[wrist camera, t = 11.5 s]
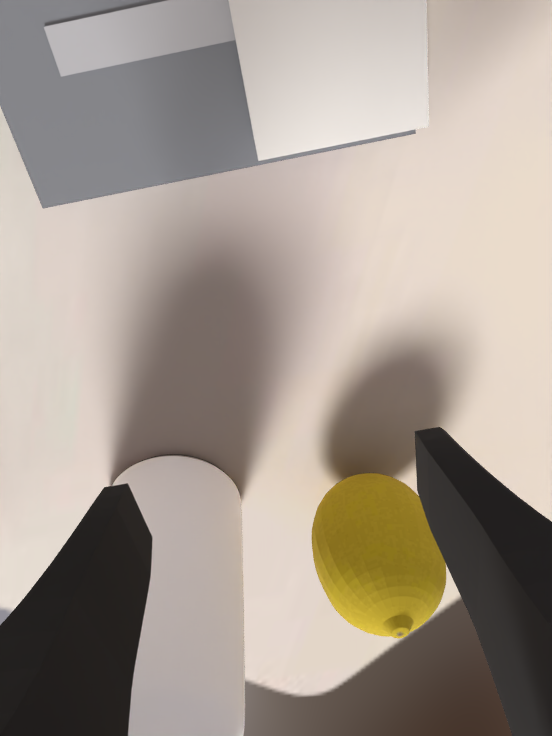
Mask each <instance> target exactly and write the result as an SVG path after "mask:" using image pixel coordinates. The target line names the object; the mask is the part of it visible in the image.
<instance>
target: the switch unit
mask: <svg viewBox="0 0 552 736" xmlns="http://www.w3.org/2000/svg"><path fill="white" fill-rule="evenodd" d="M0 106H1V109H2V111H3V113H4V116H5V118H6V121H7V123H8V125H9V128H10V130H11V133H12V135H13V138H14V140H15V142H16V145H17V147H18V150H19V152H20V154H21V157H22V159H23V162H24V164H25V167H26V169H27V171H28V174H29V176H30V179H31V181H32V183H33V186H34V188H35V191H36V193H37V195H38V198H39V200H40V203H41V205H42V208H48V207H53V206H58V205H63V204H68V203H73V202H78V201H83V200H88V199H93V198H97V197H102V196H107V195H112V194H117V193H122V192H127V191H132V190H137V189H142V188H147V187H152V186H157V185H162V184H167V183H172V182H177V181H182V180H187V179H192V178H197V177H202V176H207V175H212V174H217V173H222V172H227V171H232V170H237V169H242V168H247V167H252V166H257V165H262V164H267V163H272V162H277V161H282V160H287V159H292V158H296V157H301V156H306V155H311V154H316V153H321V152H326V151H331V150H336V149H341V148H346V147H351V146H356V145H361V144H366V143H371V142H376V141H381V140H386V139H391V138H396V137H401V136H406V135H411V134H416V133H415V130H410V131H405V132H400V133H395V134H390V135H385V136H381V137H376V138H371V139H366V140H361V141H356V142H351V143H346V144H341V145H336V146H331V147H326V148H321V149H316V150H311V151H306V152H301V153H296V154H291V155H286V156H281V157H276V158H271V159H266V160H261V161H258V156H257V151H256V146H255V141H254V136H253V131H252V125H251V120H250V115H249V109H248V104H247V98H246V93H245V88H244V82H243V77H242V72H241V66H240V61H239V55H238V50H237V45H236V39H235V34H234V28H233V23H232V18H231V12H230V7H229V1H228V0H0Z"/></svg>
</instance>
